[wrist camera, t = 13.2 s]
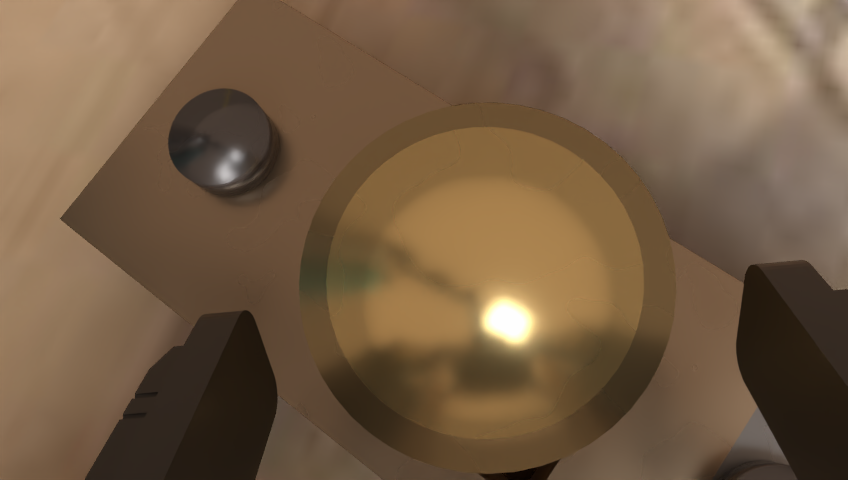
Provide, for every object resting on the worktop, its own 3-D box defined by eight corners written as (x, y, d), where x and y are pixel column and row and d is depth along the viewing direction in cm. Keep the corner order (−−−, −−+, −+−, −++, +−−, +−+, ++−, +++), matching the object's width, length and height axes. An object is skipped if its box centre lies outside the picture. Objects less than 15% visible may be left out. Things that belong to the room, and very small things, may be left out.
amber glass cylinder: (389, 364, 20) (223, 320, 8) (477, 240, 21) (437, 39, 9) (518, 462, 19) (532, 564, 7) (608, 327, 19) (755, 225, 8)
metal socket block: (130, 247, 22) (35, 209, 18) (290, 45, 23) (238, -39, 19) (681, 683, 17) (741, 784, 13) (852, 399, 18) (964, 399, 14)
